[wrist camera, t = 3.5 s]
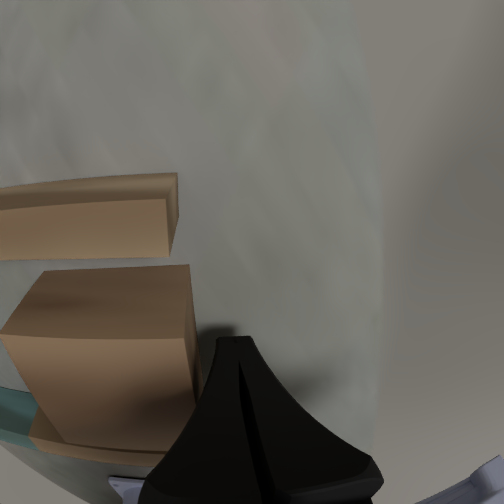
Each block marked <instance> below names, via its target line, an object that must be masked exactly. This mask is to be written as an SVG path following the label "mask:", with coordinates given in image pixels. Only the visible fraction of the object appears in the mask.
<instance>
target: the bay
mask: <svg viewBox="0 0 504 504" xmlns="http://www.w3.org/2000/svg"><path fill="white" fill-rule="evenodd" d="M178 218H179V210H178V180H177V173H159V174H138V175H121V176H107V177H94V178H83V179H72V180H62V181H53V182H44V183H36V184H28V185H20V186H13V187H6V188H0V260H41V259H95V258H145V257H170V252H171V248H172V244H173V239H174V235H175V231H176V226H177V222H178ZM0 440H3V441H6V442H9V443H13V444H16V445H20V446H23V447H27V448H31V449H35V450H39V451H43V452H47V453H52V454H57V455H62V456H67V457H72V458H78V459H84V460H90V461H97V462H104V463H113V464H122V465H133V466H146V467H156V465H157V464H158V463H159V462H160V461H161V460H162V458H163V457H164V456H165V455H166V453H167V452H168V451H150V450H130V449H117V448H106V447H97V446H88V445H81V444H74V443H67V442H65V441H64V439H63V438H62V437H61V436H60V434H59V433H58V432H57V430H56V429H55V427H54V426H53V425H52V423H51V422H50V420H49V419H48V418H47V416H46V415H45V413H44V412H43V410H42V409H41V407H40V406H39V404H38V403H37V401H36V400H35V398H34V397H33V395H32V394H31V393H26V392H21V391H16V390H11V389H6V388H2V387H0Z"/></svg>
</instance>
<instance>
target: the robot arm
mask: <svg viewBox="0 0 504 504" xmlns="http://www.w3.org/2000/svg"><path fill="white" fill-rule="evenodd" d="M108 482H109V484H110V485H111V486H112V487H113V488H114V490H115V491H116V492H117V493H118V494H119V495H120V496H121V498H122V499H123V504H373V503H372V500H371V497H372V496H373V495H374V494H375V493H376V492H377V491H378V490H379V489H380V488H381V486H382V485H383V483H384V479H383V477H382V474H381V472H380V470H379V468H378V467H377V465H376V464H375V462H374V460H373V459H372V457H371V456H370V455H368V454H366V453H364V452H362V451H360V450H358V449H357V448H355V447H353V446H352V445H350V444H348V443H347V442H345V441H344V440H342V439H341V438H339V437H338V436H336V435H335V434H333V433H332V432H331V431H329V430H328V429H327V428H326V427H324V426H323V425H322V424H320V423H319V422H318V421H317V420H315V419H314V418H313V417H312V416H311V415H310V414H309V413H308V412H307V411H305V410H304V409H303V408H302V407H301V406H300V405H299V404H298V403H297V402H296V400H295V399H294V398H293V397H292V396H291V395H290V394H289V393H288V392H287V390H286V389H285V388H284V387H283V386H282V384H281V383H280V382H279V380H278V379H277V378H276V377H275V375H274V374H273V372H272V371H271V370H270V368H269V367H268V365H267V364H266V362H265V361H264V359H263V357H262V356H261V354H260V352H259V351H258V349H257V347H256V345H255V343H254V341H253V339H252V337H250V336H233V337H218V338H217V339H216V349H215V355H214V359H213V363H212V367H211V370H210V373H209V376H208V379H207V382H206V384H205V387H204V389H203V392H202V394H201V397H200V399H199V401H198V403H197V405H196V407H195V409H194V411H193V413H192V415H191V417H190V419H189V420H188V422H187V424H186V425H185V427H184V429H183V430H182V432H181V434H180V435H179V437H178V438H177V440H176V441H175V442H174V444H173V445H172V446H171V448H170V449H169V451H168V452H167V453H166V455H165V456H164V457H163V458H162V460H161V461H160V462H159V463H158V464H157V465H156V467H155V468H154V469H153V470H152V471H151V472H150V473H149V474H148V476H147V477H146V478H145V480H137V479H127V478H117V477H109V478H108ZM415 504H504V459H503V458H502V456H501V455H498V456H496V457H495V458H493V459H492V460H490V461H488V462H487V463H485V464H483V465H482V466H480V467H479V468H478V469H477V470H475V471H474V472H473V473H472V474H471V475H470V477H468V478H466V479H465V480H463V481H461V482H459V483H457V484H455V485H454V486H451V487H449V488H447V489H445V490H443V491H441V492H439V493H437V494H435V495H433V496H431V497H429V498H427V499H424V500H422V501H420V502H417V503H415Z"/></svg>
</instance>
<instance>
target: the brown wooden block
mask: <svg viewBox="0 0 504 504" xmlns="http://www.w3.org/2000/svg"><path fill="white" fill-rule="evenodd" d="M0 338H1V340H2V342H3V344H4V346H5V348H6V350H7V352H8V354H9V356H10V358H11V359H12V361H13V363H14V365H15V367H16V368H17V370H18V372H19V374H20V375H21V377H22V379H23V381H24V382H25V384H26V385H27V387H28V389H29V390H30V392H31V394H32V395H33V397H34V398H35V400H36V401H37V403H38V404H39V406H40V407H41V409H42V410H43V412H44V413H45V415H46V416H47V418H48V419H49V420H50V422H51V423H52V425H53V426H54V427H55V429H56V430H57V432H58V433H59V434H60V436H61V437H62V438H63V439H64V441H65V442H67V443H74V444H81V445H88V446H97V447H106V448H117V449H130V450H150V451H169V449H170V448H171V446H172V445H173V444H174V442H175V441H176V440H177V438H178V437H179V435H180V434H181V432H182V430H183V429H184V427H185V425H186V424H187V422H188V420H189V419H190V417H191V415H192V413H193V411H194V409H195V407H196V405H197V403H198V401H199V399H200V397H201V394H202V392H203V376H202V369H201V362H200V354H199V347H198V339H197V331H196V323H195V315H194V306H193V297H192V287H191V277H190V267H189V265H169V266H148V267H126V268H104V269H80V270H56V271H44V272H43V273H42V274H41V276H40V277H39V278H38V279H37V281H36V282H35V283H34V285H33V286H32V287H31V289H30V290H29V291H28V293H27V294H26V295H25V297H24V298H23V299H22V301H21V302H20V304H19V305H18V306H17V308H16V309H15V311H14V312H13V313H12V315H11V316H10V318H9V319H8V321H7V322H6V324H5V325H4V327H3V328H2V330H1V331H0Z"/></svg>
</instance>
